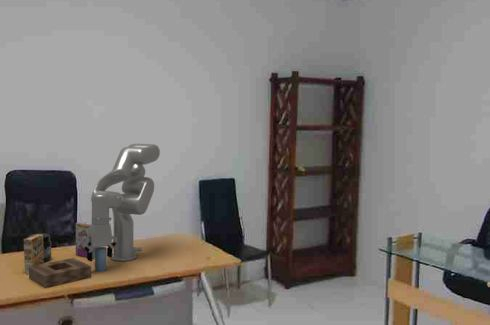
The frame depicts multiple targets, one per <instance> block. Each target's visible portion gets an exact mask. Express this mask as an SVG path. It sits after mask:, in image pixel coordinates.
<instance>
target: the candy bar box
mask: <svg viewBox="0 0 490 325" xmlns="http://www.w3.org/2000/svg"><path fill="white" fill-rule="evenodd" d="M90 224H92V222H87V221H77V222H76V223H75V226H74V227H75V256H78V257H82V258H86V259H87V251H86V250H85V249H84V248H83V246H82V244H81V243H82V242H84V241H85V240H87V238H88V230H89V226H90ZM86 246H87V247H88V245H87V244H86ZM96 248H97V247H96ZM91 252H92V259H95V248H94V249H93V250H92V251H91Z"/></svg>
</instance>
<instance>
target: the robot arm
mask: <svg viewBox="0 0 490 325" xmlns="http://www.w3.org/2000/svg"><path fill="white" fill-rule="evenodd" d="M160 154H161V151H160V147H159V146H158V145H157V144H154V143H153V144H151V143H132V144H131V143H130V145H128V146H125V147H123V148H122V149H121V150H120V151H119V154H118V155H117V158H116V160H115V163H114V165H113V168H112V170H111V171H109V172H108V173H107V174H105V175H104V176H103V177H101V178H100V179H99V180H98V181H97V183H96V184H95V186H94V189H93V191H92V194H91V197H90V201H91V223H92V224H90V226H89V230H88V238H87V240H85V241H84V242H82V243H81V244H82V246H83V248H84V249H85V250H86V251H87V258H86V259H87V261H89V262H92V261H93V258H92V252H91V251H92V250H93V249H94V248H96V247H106V258H107V257H108V258H109V259H111V260H112V261H116V262H117V261H118V262H128V261H133V260H135V259H136V258H137V256H138V255H137V252H142V251H143V248H142V247H135V246H134V219H133V217H132V215H134V216H137V215H139V216H141V215H144V214H145V213H146V212H147V210H148V208H149V206H150V203H151V199H152V197H153V194H154V191H155V182H154V180H153V179H152V178H150V177H148V176H145V175H146V169H145V166H144V165H148V164H151V163H153V162H156V161H157V160H158V159H159V157H160ZM119 183H122V185H121V191H122V193H120V192H118V191H111V190H108V188H111V187H112V186H113V185H117V184H119ZM110 209H112V217H110ZM112 218H113V233H112V227H111V223H110V221H112ZM112 234H113V235H112ZM86 244H87V245H88V247H87V246H86Z"/></svg>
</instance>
